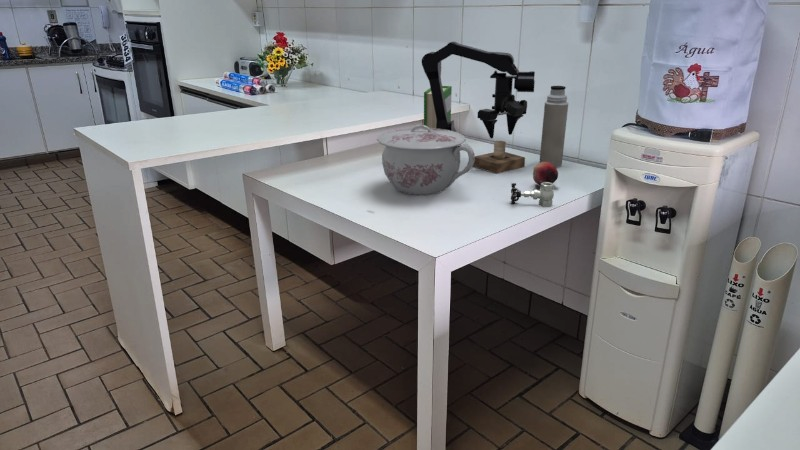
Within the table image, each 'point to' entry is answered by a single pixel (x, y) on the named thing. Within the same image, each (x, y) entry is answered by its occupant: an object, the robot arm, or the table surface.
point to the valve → (535, 194)
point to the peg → (499, 150)
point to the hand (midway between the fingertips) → (500, 136)
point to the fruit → (545, 173)
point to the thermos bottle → (554, 126)
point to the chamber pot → (423, 158)
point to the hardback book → (429, 106)
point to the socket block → (499, 162)
